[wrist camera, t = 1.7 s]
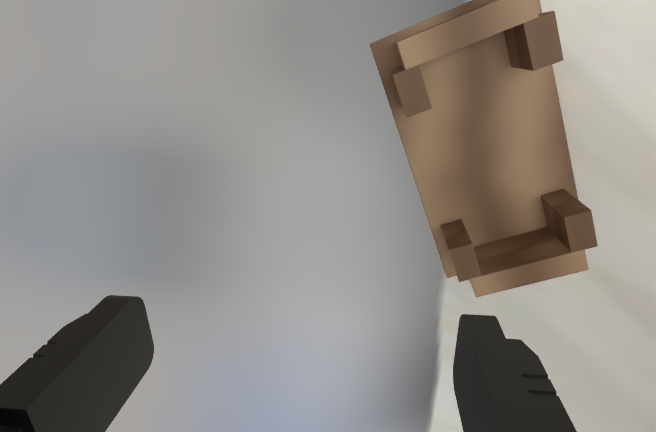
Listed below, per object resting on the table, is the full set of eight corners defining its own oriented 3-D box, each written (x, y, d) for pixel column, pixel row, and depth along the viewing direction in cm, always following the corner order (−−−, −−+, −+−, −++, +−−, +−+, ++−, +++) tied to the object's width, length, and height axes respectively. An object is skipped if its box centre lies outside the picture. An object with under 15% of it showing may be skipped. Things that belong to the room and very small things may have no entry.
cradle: (529, -24, 24) (562, -39, 20) (579, 235, 30) (615, 269, 26) (370, 44, 27) (367, 44, 22) (445, 271, 33) (455, 308, 28)
